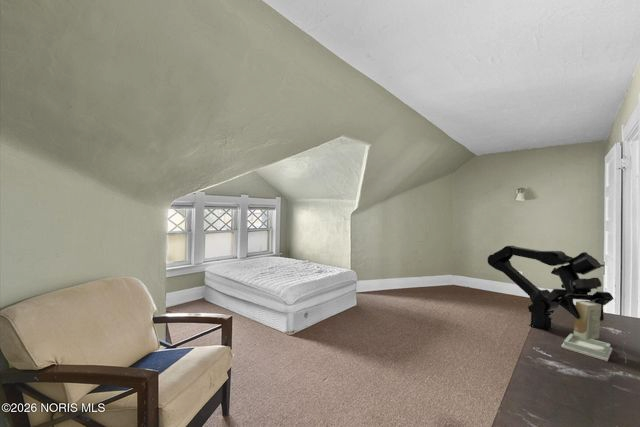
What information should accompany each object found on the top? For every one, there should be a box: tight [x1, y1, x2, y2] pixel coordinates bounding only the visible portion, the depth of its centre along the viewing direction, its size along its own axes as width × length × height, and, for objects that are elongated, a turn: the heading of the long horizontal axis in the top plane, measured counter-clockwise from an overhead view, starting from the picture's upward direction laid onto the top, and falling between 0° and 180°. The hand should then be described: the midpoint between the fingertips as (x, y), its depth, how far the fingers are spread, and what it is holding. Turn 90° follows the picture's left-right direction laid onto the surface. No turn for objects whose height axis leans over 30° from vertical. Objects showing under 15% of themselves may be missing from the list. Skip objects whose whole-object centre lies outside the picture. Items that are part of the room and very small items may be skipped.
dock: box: [560, 332, 613, 362], centre depth 106 cm, size 12×12×2 cm
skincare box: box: [573, 300, 601, 340], centre depth 105 cm, size 6×4×12 cm
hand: (590, 319), depth 104 cm, fingers closed on skincare box, 7 cm apart
